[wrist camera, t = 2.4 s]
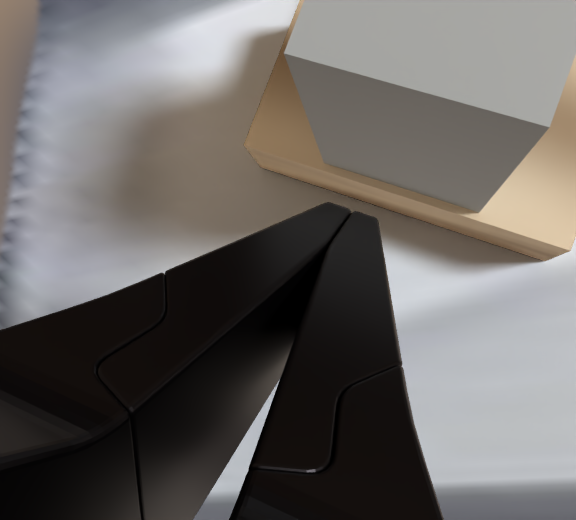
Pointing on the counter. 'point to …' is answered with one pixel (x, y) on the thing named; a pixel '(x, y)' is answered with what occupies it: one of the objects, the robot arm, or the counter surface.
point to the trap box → (481, 225)
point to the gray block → (432, 87)
